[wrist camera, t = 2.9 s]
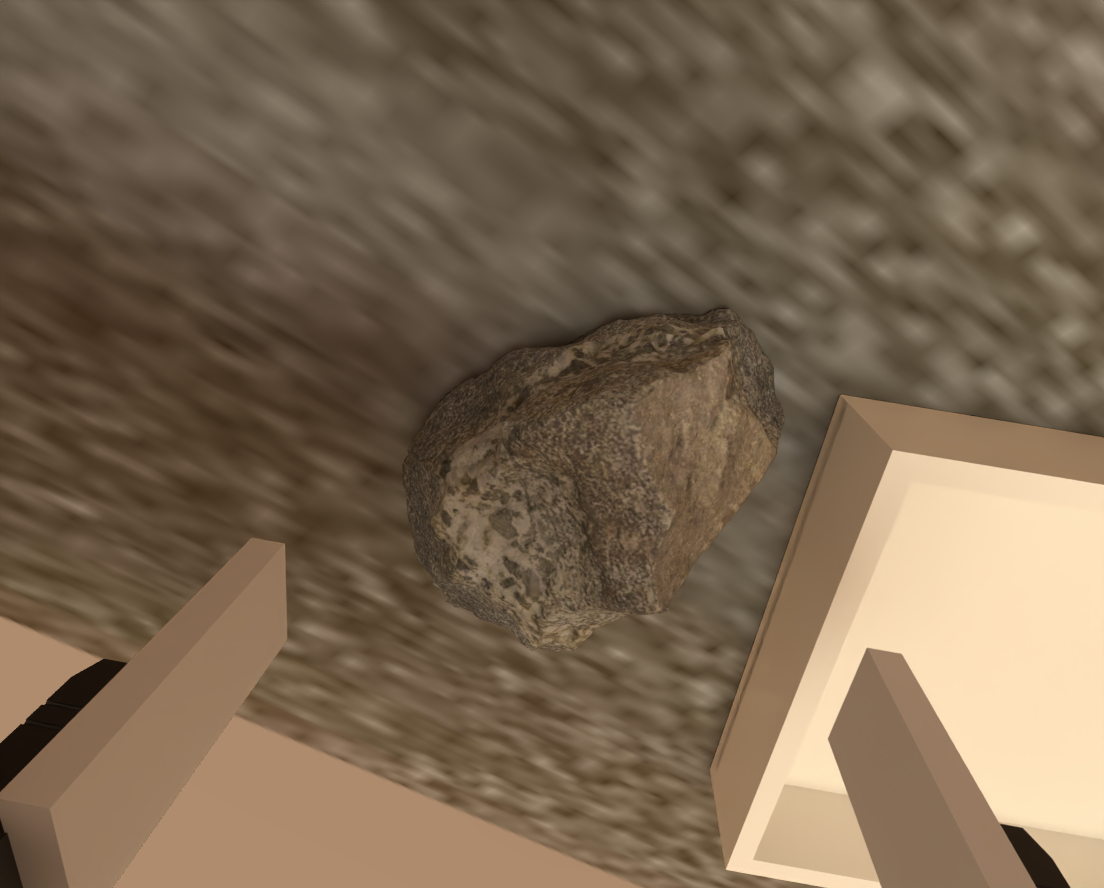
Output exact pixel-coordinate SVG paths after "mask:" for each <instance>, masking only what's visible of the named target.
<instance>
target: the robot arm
mask: <svg viewBox="0 0 1104 888" xmlns="http://www.w3.org/2000/svg"><path fill="white" fill-rule="evenodd" d="M286 641H287V609H286V568H285V544H284V543H279V542H273V541H268V540H262V539H256V538H251V539H250V540H249V541H248V542H247V543H246V544H245V545H244V546H243V547H242V548H241V549H240V550H239V551H238V552H237V553H236V554H235V555H234V556H233V557H232V558H231V559H230V560H229V561H228V562H227V563H226V564H225V565H224V566H223V567H222V568H221V569H220V570H219V571H218V572H217V574H216V575H215V576H214V577H213V578H212V579H211V580H210V581H209V582H208V583H207V584H206V585H205V586H204V587H203V588H202V589H201V590H200V591H199V592H198V593H197V594H196V595H195V596H194V597H193V598H192V599H191V600H190V601H189V602H188V603H187V604H186V605H185V606H184V607H183V608H182V609H181V610H180V611H179V612H178V613H177V614H176V615H175V616H174V617H173V618H172V619H171V620H170V621H169V622H168V623H167V624H166V625H165V626H164V627H163V628H162V629H161V630H160V631H159V632H158V633H157V634H156V635H155V636H154V637H153V638H152V639H151V640H150V641H149V642H148V643H147V644H146V645H145V646H144V647H143V648H142V649H141V650H140V651H139V652H138V653H137V654H136V655H135V656H134V657H133V658H132V659H131V660H130V661H129V662H128V663H124V662H119V661H113V660H108V659H103V660H101V661H99V662H97V663H96V664H94V665H92V666H90V667H88V668H87V669H85V670H83V671H81V672H79V673H78V674H76V675H74V676H72V677H71V678H70V679H69V680H68V681H67V682H66V683H65V684H64V685H62V686H61V687H60V688H59V689H58V690H57V691H56V692H55V693H54V694H53V695H52V696H51V697H50V698H48V700H47V702H46V704H45V705H41V706H40V707H39V708H38V709H37V710H36V711H34V712H33V713H32V714H31V715H30V716H29V717H28V718H27V719H26V722H25V724H20V725H19V726H18V727H17V728H16V729H15V730H14V731H13V732H12V733H11V734H10V735H9V736H8V737H7V738H5V739H4V740H3V741H2V742H1V743H0V888H113V887H114V886H115V884H116V883H117V881H118V880H119V878H120V877H121V876H122V874H123V873H124V871H125V870H126V868H127V867H128V866H129V864H130V863H131V861H132V860H133V859H134V857H135V856H136V854H137V853H138V851H139V850H140V849H141V847H142V846H143V844H144V843H145V841H146V840H147V839H148V837H149V836H150V834H151V833H152V831H153V830H154V829H155V827H156V826H157V824H158V823H159V822H160V820H161V819H162V817H163V816H164V814H165V813H166V812H167V810H168V809H169V807H170V806H171V804H172V803H173V802H174V800H175V799H176V797H177V796H178V794H179V793H180V792H181V790H182V788H183V787H184V786H185V785H186V783H187V782H188V780H189V779H190V777H191V776H192V774H193V773H194V772H195V770H196V769H197V767H198V766H199V764H200V763H201V762H202V760H203V759H204V757H205V756H206V755H207V753H208V752H209V750H210V749H211V747H212V746H213V745H214V743H215V742H216V740H217V739H218V738H219V736H220V734H221V733H222V732H223V730H224V729H225V728H226V726H227V725H228V723H229V722H230V720H231V719H232V718H233V716H234V715H235V713H236V712H237V710H238V709H239V708H240V706H241V705H242V703H243V702H244V700H245V699H246V698H247V696H248V695H249V693H250V692H251V691H252V689H253V688H254V686H255V685H256V683H257V682H258V681H259V679H260V678H261V676H262V675H263V673H264V672H265V671H266V669H267V668H268V666H269V665H270V663H271V662H272V661H273V659H274V658H275V656H276V655H277V654H278V652H279V651H280V649H281V648H282V646H283V645H284V644H285V642H286ZM828 741H829V744H830V746H831V749H832V752H833V755H834V757H835V760H836V763H837V766H838V768H839V771H840V774H841V777H842V780H843V782H844V785H845V788H846V791H847V793H848V796H849V799H850V802H851V804H852V807H853V810H854V813H855V815H856V818H857V821H858V824H859V827H860V829H861V832H862V835H863V838H864V840H865V843H866V846H867V849H868V851H869V854H870V857H871V860H872V862H873V865H874V868H875V871H876V874H877V876H878V879H879V882H880V885H881V887H882V888H1070V886H1069V884H1068V883H1067V881H1066V880H1065V878H1064V876H1063V875H1062V873H1061V872H1060V870H1059V868H1058V867H1057V865H1056V863H1055V862H1054V860H1053V859H1052V858H1051V857H1050V855H1049V854H1048V853H1047V852H1046V851H1045V850H1044V849H1043V848H1042V847H1041V846H1040V845H1039V844H1038V843H1037V842H1036V841H1035V840H1034V839H1033V838H1032V837H1031V836H1030V835H1029V834H1028V833H1027V832H1026V831H1025V830H1024V829H1023V828H1021V827H1016V826H1010V825H1005V824H1000V823H999V822H998V820H997V818H996V816H995V815H994V813H993V811H992V809H991V808H990V806H989V804H988V802H987V801H986V799H985V797H984V795H983V794H982V792H981V790H980V789H979V787H978V785H977V783H976V782H975V780H974V778H973V776H972V775H971V773H970V771H969V769H968V768H967V766H966V764H965V763H964V761H963V759H962V757H961V756H960V754H959V752H958V750H957V749H956V747H955V745H954V743H953V742H952V740H951V738H950V736H949V735H948V733H947V731H946V730H945V728H944V726H943V724H942V723H941V721H940V719H939V717H938V716H937V714H936V712H935V710H934V709H933V707H932V705H931V704H930V702H929V700H928V698H927V697H926V695H925V693H924V691H923V690H922V688H921V686H920V684H919V683H918V681H917V679H916V677H915V676H914V674H913V672H912V671H911V669H910V667H909V665H908V664H907V662H906V660H905V658H904V657H903V655H902V654H900V653H895V652H889V651H883V650H878V649H872V648H866V651H865V653H864V655H863V658H862V660H861V662H860V665H859V667H858V669H857V672H856V674H855V676H854V679H853V681H852V683H851V686H850V688H849V690H848V693H847V695H846V697H845V700H844V702H843V704H842V707H841V709H840V711H839V714H838V716H837V718H836V721H835V723H834V725H833V728H832V730H831V732H830V735H829V737H828Z"/></svg>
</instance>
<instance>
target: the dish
mask: <svg viewBox="0 0 1104 888" xmlns="http://www.w3.org/2000/svg"><path fill="white" fill-rule="evenodd" d="M866 648H872V649H878V650H883V651H889V652H895V653H900V654H902V655H903V657H904V658H905V660H906V662H907V664H908V665H909V667H910V669H911V671H912V672H913V674H914V676H915V677H916V679H917V681H918V683H919V684H920V686H921V688H922V690H923V691H924V693H925V695H926V697H927V698H928V700H929V702H930V704H931V705H932V707H933V709H934V710H935V712H936V714H937V716H938V717H939V719H940V721H941V723H942V724H943V726H944V728H945V730H946V731H947V733H948V735H949V736H950V738H951V740H952V742H953V743H954V745H955V747H956V749H957V750H958V752H959V754H960V756H961V757H962V759H963V761H964V763H965V764H966V766H967V768H968V769H969V771H970V773H971V775H972V776H973V778H974V780H975V782H976V783H977V785H978V787H979V789H980V790H981V792H982V794H983V795H984V797H985V799H986V801H987V802H988V804H989V806H990V808H991V809H992V811H993V813H994V815H995V816H996V818H997V820H998V822H999V823H1000V824H1005V825H1010V826H1016V827H1021V828H1023V829H1024V830H1025V831H1026V832H1027V833H1028V834H1029V835H1030V836H1031V837H1032V838H1033V839H1034V840H1035V841H1036V842H1037V843H1038V844H1039V845H1040V846H1041V847H1042V848H1043V849H1044V850H1045V851H1046V852H1047V853H1048V854H1049V855H1050V857H1051V858H1052V859H1053V860H1054V862H1055V863H1056V865H1057V867H1058V868H1059V870H1060V872H1061V873H1062V875H1063V876H1064V878H1065V880H1066V881H1067V883H1068V884H1069V886H1070V888H1104V437H1098V436H1092V435H1086V434H1080V433H1074V432H1068V431H1062V430H1055V429H1049V428H1043V427H1037V426H1031V425H1025V424H1019V423H1013V422H1006V421H1000V420H994V419H988V418H982V417H976V416H970V415H964V414H957V413H951V412H945V411H939V410H933V409H927V408H921V407H915V406H908V405H902V404H896V403H890V402H884V401H878V400H872V399H866V398H859V397H853V396H847V395H841V394H840V396H839V399H838V402H837V405H836V408H835V411H834V414H833V417H832V419H831V422H830V425H829V428H828V431H827V434H826V437H825V440H824V442H823V445H822V448H821V451H820V454H819V457H818V460H817V463H816V466H815V468H814V471H813V474H812V477H811V480H810V483H809V486H808V489H807V491H806V494H805V497H804V500H803V503H802V506H801V509H800V512H799V514H798V517H797V520H796V523H795V526H794V529H793V532H792V535H791V537H790V540H789V543H788V546H787V549H786V552H785V555H784V558H783V561H782V563H781V566H780V569H779V572H778V575H777V578H776V581H775V584H774V586H773V589H772V592H771V595H770V598H769V601H768V604H767V607H766V609H765V612H764V615H763V618H762V621H761V624H760V627H759V630H758V632H757V635H756V638H755V641H754V644H753V647H752V650H751V653H750V655H749V658H748V661H747V664H746V667H745V670H744V673H743V676H742V679H741V681H740V684H739V687H738V690H737V693H736V696H735V699H734V702H733V704H732V707H731V710H730V713H729V716H728V719H727V722H726V725H725V727H724V730H723V733H722V736H721V739H720V742H719V745H718V748H717V750H716V753H715V756H714V759H713V762H712V765H711V768H710V773H711V779H712V785H713V792H714V798H715V804H716V811H717V817H718V823H719V830H720V836H721V842H722V849H723V855H724V861H725V868H726V870H731V871H736V872H742V873H747V874H753V875H759V876H764V877H770V878H776V879H781V880H787V881H792V882H798V883H804V884H809V885H815V886H821V887H826V888H882V887H881V885H880V882H879V879H878V876H877V874H876V871H875V868H874V865H873V862H872V860H871V857H870V854H869V851H868V849H867V846H866V843H865V840H864V838H863V835H862V832H861V829H860V827H859V824H858V821H857V818H856V815H855V813H854V810H853V807H852V804H851V802H850V799H849V796H848V793H847V791H846V788H845V785H844V782H843V780H842V777H841V774H840V771H839V768H838V766H837V763H836V760H835V757H834V755H833V752H832V749H831V746H830V744H829V741H828V737H829V735H830V732H831V730H832V728H833V725H834V723H835V721H836V718H837V716H838V714H839V711H840V709H841V707H842V704H843V702H844V700H845V697H846V695H847V693H848V690H849V688H850V686H851V683H852V681H853V679H854V676H855V674H856V672H857V669H858V667H859V665H860V662H861V660H862V658H863V655H864V653H865V651H866Z"/></svg>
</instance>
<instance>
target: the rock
mask: <svg viewBox="0 0 1104 888" xmlns="http://www.w3.org/2000/svg"><path fill="white" fill-rule="evenodd" d="M709 312H710V313H707V314H705V315H701V316H695V315H690V314H682V315H678V314H666V315H663V314H655V315H651V316H647V317H638V318H634V319H631V320H620V319H618V320H616V321H614V322H612V323H609V324H604V325H601V326H600V327H598V328H596V329H594V330H592V331H590V332H588V333H586V334H585V335H583V336H580V337H579V338H578V339H577V340H576V341H573V342H571V343H569V344H567V345H564V346H559V347H549V346H548V347H542V348H528V347H525V348H522V349H518V350H515V351H512V352H509V353H508V354H506V355H505V356H503V357H502V358H500V359H499V360H497V361H496V362H494V363H493V364H492V365H491V368H490V370H489V371H488V372H486V373H482V374H481V375H479V376H478V377H477V378H469V379H467V380H466V381H464V382H462V383H461V384H460V385H459V386H458V387H457V388H455V389H454V390H453V391H452V392H449V393H448V394H447V395H446V396H445V397H444V400H441V401H440V402H439V404H438V405H437V406H436V408H435V409H434V411H433V412H432V414H431V415H430V417H429V418H428V419H427V420H426V422H425V426H424V429H423V430H422V431H419V433H418V434H417V435H416V436H415V438H414V440H413V443H412V445H411V446H410V447H409V448H408V453H409V455H408V456H407V457H406V459H405V460H404V463H403V486H404V489H405V492H406V495H407V509H408V519H409V524H410V526H411V529H412V533H413V538H414V551H415V554H416V556H417V559H418V562H420V563H421V564H422V565H423V566H424V567H425V569H426V570H427V571H428V572H429V573H430V575H431V576H432V580H433V582H432V584H433V585H434V586H436V587H438V589H440V590H442V592H443V593H444V595H445V596H446V598H447V600H446V602H448V603H450V604H452V605H453V606H454V607H462V608H464V609H467V610H469V611H472V612H473V613H474V615H475V616H477V617H478V618H479V619H481V620H484V621H489V622H491V623H494V624H497V625H499V626H504V627H506V628H508V629H510V630H511V631H512V632H513V633H514V634H515V635H516V636H517V638H518V640H519V641H520V642H521V643H523V644H524V645H525V646H526V647H527V648H529V649H530V650H531V651H532V650H535V649H537V648H540V649H546V650H550V651H554V652H557V651H559V650H561V649H566V650H575V649H576V648H577V647H578V646H579V645H580V644H581V643H582V642H583V641H584V640H585V639H586V638H588V637H589V636H590V635H591V634H592V632H593V631H594V629H595V627H599V626H602V625H606V624H609V623H612V622H613V621H615V620H617V619H620V618H621V617H623V616H626V615H629V614H634V615H648V614H654V613H661V612H664V611H668V610H669V609H668V608H666V607H667V605H668V603H669V602H670V600H671V599H672V597H673V596H674V594H675V593H676V592H677V590H678V589H679V587H680V586H681V584H682V583H683V582H684V580H685V579H686V577H687V575H688V573H689V571H690V569H691V567H692V565H693V564H694V563H695V561H696V560H697V559H698V557H699V556H700V555H701V553H703V552H704V551H705V550H706V549H707V548H708V547H709V546H710V544H711V543H712V541H713V540H714V539H715V537H716V536H717V534H718V533H719V531H720V530H721V529H722V528H723V527H724V526H725V524H726V523H727V522H728V521H729V519H730V518H731V517H732V516H733V515H734V514H735V513H736V512H737V511H738V509H739V508H740V507H741V505H742V504H743V502H744V501H745V499H746V498H747V497H748V496H749V494H750V493H751V492H752V490H753V489H754V488H755V487H756V485H757V484H758V483H759V481H760V480H761V478H762V477H763V475H764V474H765V472H766V471H767V469H768V467H769V466H770V464H771V463H772V461H773V459H774V458H775V456H776V454H777V446H778V439H779V437H780V435H781V428H782V426H783V424H784V415H783V408H781V406H780V405H781V404H780V403H779V402H778V401H777V398H776V395H775V390H774V368H773V366H772V364H771V362H770V360H769V359H768V357H766V356H765V355H764V353H763V351H762V349H761V347H760V345H759V343H758V341H757V339H756V337H755V335H754V333H753V332H752V331H751V330H748V329H747V328H746V327H745V326H744V325H743V321H742V320H739V319H738V318H737V315H736V314H735V313H734V312H733V311H731V310H730V309H722V310H721V309H717V310H716V311H714V310H712V311H709Z"/></svg>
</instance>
